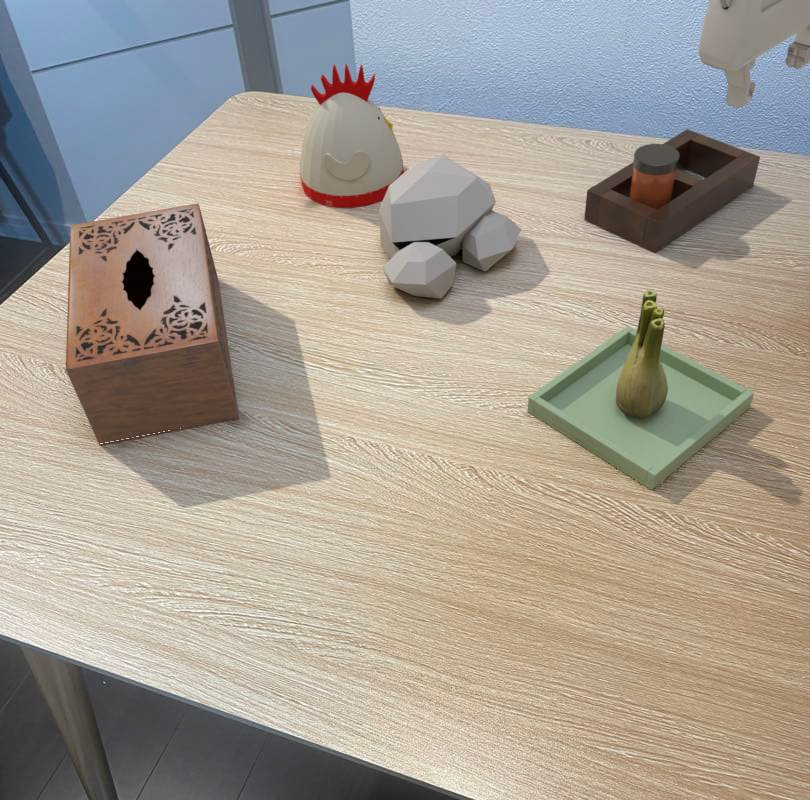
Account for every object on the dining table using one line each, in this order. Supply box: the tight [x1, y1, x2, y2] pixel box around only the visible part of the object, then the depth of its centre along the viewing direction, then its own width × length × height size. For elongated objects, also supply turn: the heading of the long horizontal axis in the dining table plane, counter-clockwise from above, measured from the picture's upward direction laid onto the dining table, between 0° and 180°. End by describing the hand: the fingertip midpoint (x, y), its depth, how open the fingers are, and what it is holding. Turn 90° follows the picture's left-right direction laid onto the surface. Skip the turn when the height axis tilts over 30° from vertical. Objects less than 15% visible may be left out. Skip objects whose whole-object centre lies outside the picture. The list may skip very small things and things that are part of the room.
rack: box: [583, 128, 761, 254], centre depth 114 cm, size 11×20×4 cm, turn 133°
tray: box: [527, 325, 755, 491], centre depth 91 cm, size 16×16×2 cm
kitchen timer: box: [299, 63, 405, 209], centre depth 118 cm, size 14×14×15 cm
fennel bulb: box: [616, 289, 668, 417], centre depth 87 cm, size 6×5×12 cm
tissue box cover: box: [65, 202, 240, 446], centre depth 99 cm, size 26×14×10 cm, turn 12°
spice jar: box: [629, 143, 680, 210], centre depth 111 cm, size 5×5×8 cm
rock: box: [378, 153, 522, 300], centre depth 108 cm, size 18×20×10 cm
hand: (768, 84), depth 83 cm, fingers open, 8 cm apart
